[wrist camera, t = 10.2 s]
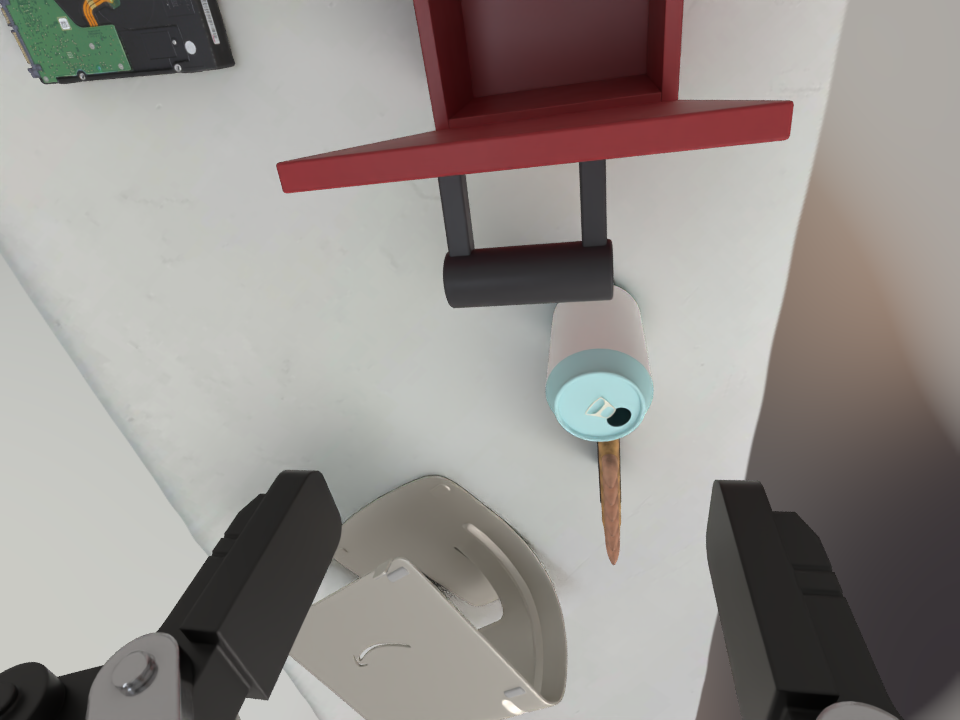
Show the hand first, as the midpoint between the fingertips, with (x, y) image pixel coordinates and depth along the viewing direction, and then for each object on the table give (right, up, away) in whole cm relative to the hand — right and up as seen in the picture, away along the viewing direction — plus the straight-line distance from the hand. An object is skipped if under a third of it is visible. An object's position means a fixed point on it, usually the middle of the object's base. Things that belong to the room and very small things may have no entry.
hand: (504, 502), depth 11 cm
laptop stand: (-6, -22, +55) cm, 60 cm away
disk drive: (-25, +28, +25) cm, 45 cm away
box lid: (+2, +12, +9) cm, 15 cm away
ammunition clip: (+12, -3, +39) cm, 41 cm away
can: (+9, +7, +33) cm, 35 cm away
